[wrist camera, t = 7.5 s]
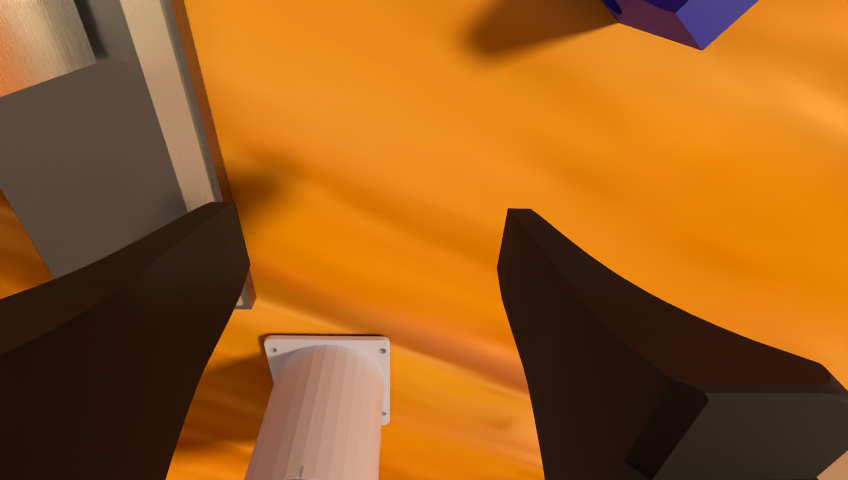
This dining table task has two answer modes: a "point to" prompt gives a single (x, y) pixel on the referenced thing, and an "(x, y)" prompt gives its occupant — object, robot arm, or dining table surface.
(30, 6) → the leg
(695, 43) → the cable clip
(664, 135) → the dining table surface
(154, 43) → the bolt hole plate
